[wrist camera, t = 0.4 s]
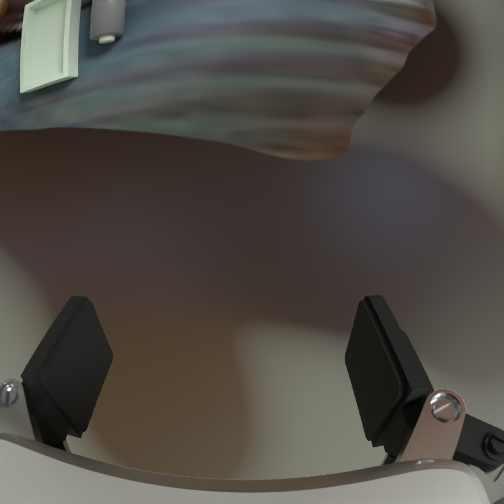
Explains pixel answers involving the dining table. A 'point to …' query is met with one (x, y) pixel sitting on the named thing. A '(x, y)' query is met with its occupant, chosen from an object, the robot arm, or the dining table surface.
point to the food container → (3, 8)
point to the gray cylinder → (107, 20)
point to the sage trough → (49, 43)
